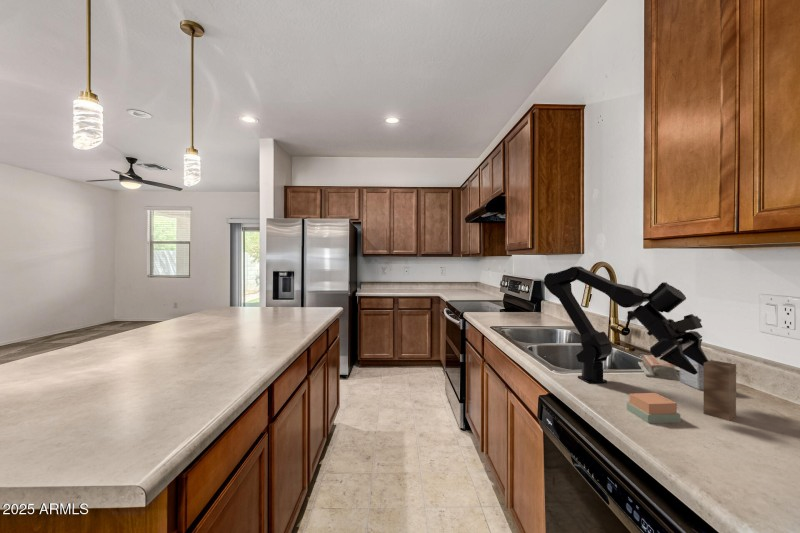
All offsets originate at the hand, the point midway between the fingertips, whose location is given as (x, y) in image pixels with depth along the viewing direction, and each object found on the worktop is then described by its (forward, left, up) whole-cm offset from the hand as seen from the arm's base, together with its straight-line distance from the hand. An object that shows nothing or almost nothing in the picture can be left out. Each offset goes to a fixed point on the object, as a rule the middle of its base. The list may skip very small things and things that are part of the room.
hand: (703, 370), depth 96 cm
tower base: (+1, -16, -11) cm, 19 cm away
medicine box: (-17, +15, -11) cm, 25 cm away
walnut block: (+3, +1, -10) cm, 11 cm away
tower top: (+1, -16, -8) cm, 18 cm away
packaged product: (-32, +17, -11) cm, 38 cm away
